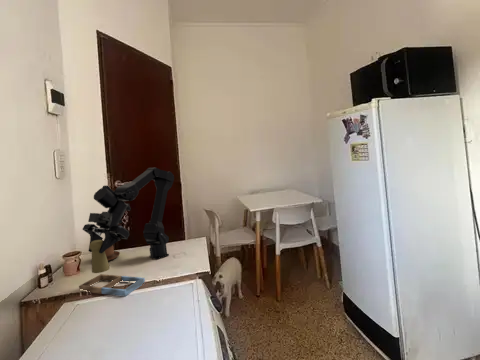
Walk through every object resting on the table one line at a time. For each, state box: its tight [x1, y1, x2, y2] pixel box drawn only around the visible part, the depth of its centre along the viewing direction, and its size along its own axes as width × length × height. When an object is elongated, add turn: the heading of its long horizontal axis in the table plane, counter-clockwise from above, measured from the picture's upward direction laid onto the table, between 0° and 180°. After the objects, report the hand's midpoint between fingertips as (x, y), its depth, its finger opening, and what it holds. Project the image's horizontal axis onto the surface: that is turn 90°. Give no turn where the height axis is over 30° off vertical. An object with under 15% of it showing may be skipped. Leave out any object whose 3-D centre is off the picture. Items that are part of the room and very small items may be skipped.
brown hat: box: [105, 244, 121, 262], centre depth 155 cm, size 12×12×6 cm
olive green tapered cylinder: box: [88, 239, 110, 274], centre depth 123 cm, size 6×6×11 cm
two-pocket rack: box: [78, 273, 146, 297], centre depth 122 cm, size 20×11×2 cm, turn 68°
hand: (94, 252), depth 121 cm, fingers closed on olive green tapered cylinder, 5 cm apart
